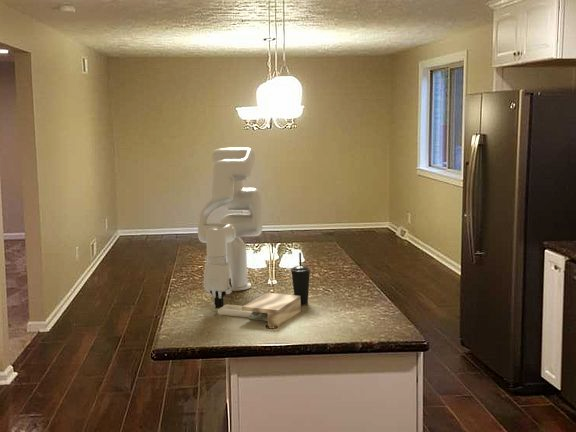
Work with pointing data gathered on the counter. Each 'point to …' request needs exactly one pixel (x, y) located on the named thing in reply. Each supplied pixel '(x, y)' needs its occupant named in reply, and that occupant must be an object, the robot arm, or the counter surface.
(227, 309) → the white rectangular tray
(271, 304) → the shelf
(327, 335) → the counter surface
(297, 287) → the drinking cup
